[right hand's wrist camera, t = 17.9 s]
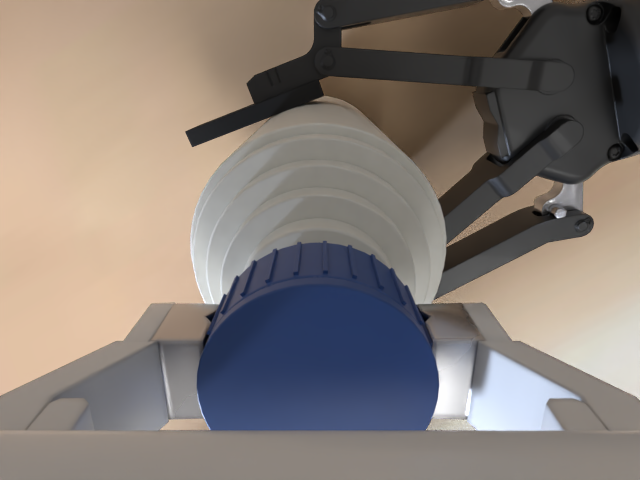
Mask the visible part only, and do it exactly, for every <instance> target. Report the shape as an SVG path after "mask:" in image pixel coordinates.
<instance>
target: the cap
mask: <svg viewBox="0 0 640 480" xmlns="http://www.w3.org/2000/svg"><path fill="white" fill-rule="evenodd" d="M207 334H208V335H209V338H208V340H207V342H206V345H205V347H204V350H203V352H202V355H201V358H200V361H199V366H198V371H197V384H196V387H197V396H198V402H199V405H200V409H201V412H202V415H203V417H204V419H205V421H206V424H207V426H208V427H209V429H210V430H426V429H427V427H428V425H429V423H430V421H431V419H432V417H433V414H434V412H435V408H436V404H437V400H438V393H439V372H438V368H437V363H436V359H435V356H434V354H433V351H432V349H431V347H432V340H431V338H430V336H429V333H428V331H427V329H426V326H425V323H424V320H423V318H422V316H421V313H420V312H419V309H418V307H417V304H415V301H414V299H413V297H412V294H411V292H410V289H409V287H408V285H405V286H404V284H403V283H402V282H401V281H400V279H399V278H398V277H397V275H396V273H395V271H394V269H393V268H390V269H389V268H388V267H387V266H386V265H384V264H383V263H382V262H380V261H379V260H377V259H376V257H375V255H373V254H371V255H368V254H367V253H365V252H362V251H360V250H357V249H354V248H352V245H348V246H343V245H339V244H332V243H327V241H323V243H320V242H319V243H304V244H302V243H301V242H297V245H293V246H289V247H285V248H282V249H279V250H277V248H276V249H273V251H272V253H270V254H268V255H266V256H264V257H262V258H260V259H259V260H257V261H255V260H253V261H252V262H251V265H250V266H249V267H248V268H247V269H246V270H245V271H244V272H243V273H242V274H241V275H240V276H237V275H236V277H235V278H234V280H233V283H232V285H231V288H230V290H229V292H228V293H227V295H226V294H224V295H223V297H222V299H221V301H220V304H219V306H218V308H217V311H216V313H215V315H214V318H213V320H212V322H211V325H210V327H209V329H208V331H207Z"/></svg>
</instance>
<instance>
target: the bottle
mask: <svg viewBox="0 0 640 480" xmlns="http://www.w3.org/2000/svg"><path fill="white" fill-rule="evenodd" d="M323 241H327V243H332V244H339V245H343V246H348V245H352V248H354V249H357V250H360V251H362V252H365V253H367V254H368V255H371V254H373V255H375V257H376V259H377V260H379V261H380V262H382V263H383V264H384V265H386V266H387V267H388V268H389V269H390V268H393V269H394V271H395V273H396V275H397V277H398V278H399V279H400V281H401V282H402V283H403V284H404V286H405V285H408V287H409V289H410V292H411V294H412V297H413V299H414V301H415V304H432V302H433V299H434V297H435V295H436V293H437V290H438V287H439V284H440V280H441V277H442V271H443V268H444V262H445V256H446V228H445V221H444V217H443V213H442V209H441V206H440V203H439V201H438V199H437V196H436V194H435V192H434V190H433V188H432V186H431V185H430V183H429V181H428V180H427V178H426V176H425V175H424V174H423V173H422V171H421V170H420V169H419V168H418V167H417V165H416V164H415V163H414V162H413V161H412V160H411V159H410V158H409V157H408V156H407V155H406V154H405V153H404V152H403V151H401V150H400V149H399V148H398V147H397V146H396V145H395V144H394V143H393V142H392V141H391V140H390V139H389V138H388V137H387V136H386V135H385V134H384V133H383V132H382V131H381V130H380V129H379V128H377V127H376V126H375V125H374V124H373V123H372V122H371V121H370V120H369V119H368V118H367V117H366V116H365V115H364V114H363V113H362V112H361V111H360V110H358V109H357V108H356V107H354V106H353V105H351V104H349V103H347V102H345V101H343V100H340V99H338V98H334V97H329V96H323V97H321V98H318V99H315V100H313V101H310V102H308V103H305V104H302V105H300V106H297V107H295V108H292V109H290V110H287V111H284V112H282V113H279V114H277V115H274V116H272V117H271V118H270V119H269V120H268V121H266V122H265V123H264V124H263V125H262V126H261V127H260V128H259V129H258V130H257V131H256V132H255V133H254V134H253V135H252V136H251V137H249V138H248V139H247V140H246V141H245V142H244V143H243V144H242V145H241V146H240V147H239V148H238V149H237V150H236V151H235V152H234V153H232V154H231V155H230V156H229V157H228V158H227V159H226V160H225V161H224V162H223V163H222V164H221V165H220V166H219V168H218V169H217V170H216V171H215V173H214V174H213V175H212V176H211V178H210V179H209V181H208V183H207V184H206V186H205V188H204V190H203V191H202V193H201V196H200V198H199V201H198V203H197V206H196V208H195V212H194V217H193V221H192V227H191V237H190V243H191V257H192V263H193V268H194V272H195V277H196V281H197V284H198V287H199V290H200V293H201V296H202V298H203V300H204V302H205V304H220V301H221V299H222V297H223V295H224V294H226V295H227V293H228V292H229V290H230V288H231V285H232V283H233V280H234V278H235V277H236V275H237V276H240V275H241V274H242V273H243V272H244V271H245V270H246V269H247V268H248V267H249V266H250V265H251V262H252V261H253V260H255V261H257V260H259V259H260V258H262V257H264V256H266V255H268V254H270V253H272V251H273V249H276V248H277V250H279V249H282V248H285V247H289V246H293V245H297V242H301V243H302V244H304V243H319V242H320V243H323Z"/></svg>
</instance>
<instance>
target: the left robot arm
mask: <svg viewBox="0 0 640 480" xmlns="http://www.w3.org/2000/svg"><path fill="white" fill-rule="evenodd" d="M481 1H483V0H320V1H319V2H318V3H317V4H316V6H315V9H314V43H313V46H312V48H311V50H310V51H309V52H308V53H307V54H305V55H304V56H302V57H299V58H297V59H294V60H292V61H289V62H287V63H284V64H282V65H279V66H277V67H274V68H272V69H269V70H267V71H264V72H262V73H259V74H257V75H255V76H254V77H253V78H252V79H251V80H250V81H249V82H248V83H247V86H248V89H249V91H250V94H251V96H252V99H253V101H254V104H252V105H250V106H247V107H245V108H242V109H240V110H237V111H235V112H232V113H229V114H227V115H224V116H222V117H219V118H217V119H214V120H212V121H209V122H207V123H204V124H201V125H199V126H197V127H195V128H192V129H190V130H188V131H186V135H187V137H188V139H189V141H190V143H191V145H192V147H194V146H197V145H199V144H202V143H204V142H207V141H209V140H212V139H215V138H217V137H220V136H222V135H225V134H228V133H230V132H233V131H235V130H238V129H240V128H243V127H246V126H248V125H251V124H253V123H256V122H259V121H261V120H264V119H266V118H269V117H271V116H274V115H277V114H279V113H282V112H284V111H287V110H290V109H292V108H295V107H297V106H300V105H302V104H305V103H308V102H310V101H313V100H315V99H318V98H321V97H323V96H324V95H323V91H322V88H321V86H320V83H319V80H320V79H323V78H325V77H328V76H336V77H350V78H365V79H379V80H393V81H408V82H422V83H436V84H450V85H465V86H476V91H475V92H472V93H473V97H474V101H475V106H476V108H477V110H478V112H479V114H480V115H481V117H482V119H483V121H484V127H483V139H484V143H485V147H486V151H487V153H486V154H484V155H483V156H482V157H481V158H480V159H479V160H478V161H477V162H476V163H475V164H474V165H473V167H472V170H471V171H470V172H469V173H468V174H467V175H465V176H464V177H463V178H462V179H461V180H460V181H459V182H457V183H456V184H455V185H454V186H453V187H452V188H451V189H449V190H448V191H447V192H446V193H445V194H444V195H443V196H441V197H440V198H439V199H438V201H439V203H440V206H441V209H442V213H443V217H444V221H445V228H446V244H448V243H449V242H450V241H451V240H452V239H454V238H455V237H456V236H457V235H458V234H459V233H461V232H462V231H463V230H464V229H465V228H467V227H468V226H469V225H470V224H471V223H473V222H474V221H475V220H476V219H477V218H479V217H480V216H481V215H482V214H483V213H485V212H486V211H487V210H488V209H489V208H490V207H492V206H493V205H494V204H495V203H496V202H498V201H499V200H500V199H502V198H503V197H507V196H510V195H513V194H514V193H515V192H517V191H518V190H519V189H520V188H522V187H523V186H524V185H525V184H526V183H528V182H529V181H530V180H531V179H532V178H534V177H535V176H539V177H542V178H546V179H549V180H553V181H554V185H553V187H552V189H551V190H550V191H549V192H548V193H546V194H543V195H541V196H538V197H536V198H535V200H534V206H530V207H526V208H523V209H520V210H518V211H516V212H513V213H511V214H509V215H507V216H505V217H504V218H502V219H500V220H498V221H496V222H494V223H492V224H490V225H488V226H486V227H484V228H483V229H481V230H479V231H477V232H475V233H473V234H471V235H469V236H467V237H465V238H463V239H462V240H460V241H458V242H456V243H454V244H452V245H450V246H448V247H446V256H445V262H444V268H443V271H442V277H441V280H440V284H439V287H438V290H437V293H436V295H435V297H434V299H433V300H435V299H437V298H439V297H441V296H443V295H445V294H447V293H449V292H451V291H453V290H455V289H456V288H458V287H460V286H462V285H464V284H466V283H468V282H470V281H472V280H474V279H476V278H478V277H480V276H482V275H484V274H486V273H488V272H490V271H492V270H494V269H496V268H498V267H500V266H502V265H504V264H506V263H508V262H510V261H512V260H514V259H516V258H518V257H520V256H522V255H524V254H526V253H528V252H530V251H532V250H534V249H536V248H538V247H540V246H542V245H544V244H546V243H548V242H553V241H559V240H565V239H571V238H576V237H582V236H585V235H587V234H588V233H589V232H590V231H591V230H592V228H593V225H594V221H593V219H592V217H591V216H590V215H588V214H586V213H584V212H583V182H584V181H586V180H587V179H589V178H590V177H591V176H592V175H593V174H595V173H596V172H597V171H598V170H599V169H600V168H602V167H603V166H605V165H606V164H608V163H611V162H613V161H617V160H621V159H625V158H628V157H632V156H635V155H638V154H640V0H586V1H583V2H580V3H577V4H567V3H563V2H553V1H552V0H490V3H491V4H492V6H493V7H494V8H495V9H498V10H505V9H508V8H515V9H518V10H519V11H520V12H521V14H522V15H523V17H522V18H521V20H520V21H519V22H518V24H517V25H516V27H515V28H514V29H513V31H512V32H511V33H510V35H509V36H508V37H507V39H506V40H505V41H504V43H503V44H502V45H501V47H500V48H499V49H498V51H497V52H496V53H495V55H494V56H493V57H492V58H491V57H468V56H454V55H440V54H426V53H412V52H398V51H384V50H370V49H356V48H342V47H341V30H346V29H352V28H357V27H362V26H367V25H373V24H378V23H383V22H388V21H393V20H399V19H404V18H409V17H414V16H419V15H425V14H430V13H435V12H440V11H445V10H451V9H456V8H461V7H465V6H469V5H473V4H475V3H478V2H481Z"/></svg>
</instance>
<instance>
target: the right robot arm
mask: <svg viewBox="0 0 640 480" xmlns="http://www.w3.org/2000/svg"><path fill="white" fill-rule="evenodd" d="M218 306H219V304H189V303H177V304H176V303H153V304H150V306H149V307H148V308H147V310H146V311H145V312H144V314H143V315H142V316H141V318H140V319H139V320H138V322H137V323H136V324H135V326H134V327H133V328H132V330H131V331H130V333H129V334H128V335H127V337H126V338H125V339H124V341H115V342H113V343H111V344H109V345H107V346H105V347H102V348H100V349H98V350H96V351H94V352H92V353H90V354H88V355H86V356H83V357H81V358H79V359H77V360H75V361H73V362H71V363H69V364H67V365H64V366H62V367H60V368H58V369H56V370H54V371H52V372H50V373H48V374H46V375H43V376H41V377H39V378H37V379H35V380H33V381H31V382H29V383H27V384H24V385H22V386H20V387H18V388H16V389H14V390H12V391H10V392H8V393H5V394H3V395H1V396H0V480H640V400H639V399H638V398H637V397H635V396H633V395H631V394H629V393H627V392H625V391H623V390H620V389H618V388H616V387H614V386H612V385H610V384H608V383H606V382H604V381H602V380H600V379H598V378H595V377H593V376H591V375H589V374H587V373H585V372H583V371H581V370H579V369H577V368H575V367H573V366H570V365H568V364H566V363H564V362H562V361H560V360H558V359H556V358H554V357H552V356H550V355H548V354H546V353H543V352H541V351H539V350H537V349H535V348H533V347H531V346H529V345H527V344H525V343H523V342H521V341H512V340H511V338H510V337H509V336H508V334H507V333H506V332H505V330H504V329H503V327H502V326H501V325H500V323H499V322H498V321H497V319H496V318H495V316H494V315H493V314H492V312H491V311H490V310H489V308H488V307H487V306H486V304H484V303H463V304H462V303H442V304H417V307H418V309H419V312H420V313H421V316H422V318H423V320H424V323H425V326H426V329H427V331H428V333H429V336H430V338H431V340H432V347H431V349H432V351H433V354H434V356H435V359H436V363H437V368H438V372H439V393H438V400H437V404H436V408H435V412H434V414H433V417H432V418H435V419H467V422H469V423H470V424H471V425H472V426H473V427H474V428H475V429H476V430H160V429H161V428H162V427H163V426H164V425H165V424H166V423H168V422H169V420H168V419H200V418H204V417H203V415H202V412H201V409H200V405H199V402H198V396H197V387H196V384H197V371H198V366H199V361H200V358H201V355H202V352H203V350H204V347H205V345H206V342H207V340H208V338H209V335H208V334H207V331H208V329H209V327H210V325H211V322H212V320H213V318H214V315H215V313H216V311H217V308H218Z"/></svg>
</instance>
